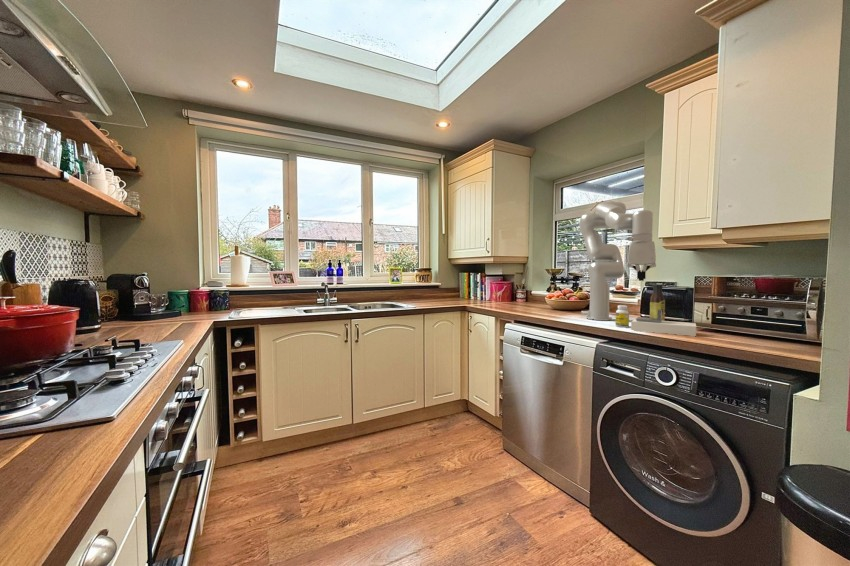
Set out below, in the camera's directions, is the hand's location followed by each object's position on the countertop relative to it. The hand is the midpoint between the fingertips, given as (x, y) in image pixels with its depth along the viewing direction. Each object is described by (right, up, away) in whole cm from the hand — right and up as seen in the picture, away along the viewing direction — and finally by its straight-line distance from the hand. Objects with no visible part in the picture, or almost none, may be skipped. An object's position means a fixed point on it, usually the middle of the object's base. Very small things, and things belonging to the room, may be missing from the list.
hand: (641, 280), depth 150 cm
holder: (+7, -22, -4) cm, 23 cm away
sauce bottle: (+21, -22, +21) cm, 37 cm away
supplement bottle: (-3, -22, +9) cm, 24 cm away
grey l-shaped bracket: (+3, -17, -1) cm, 18 cm away
